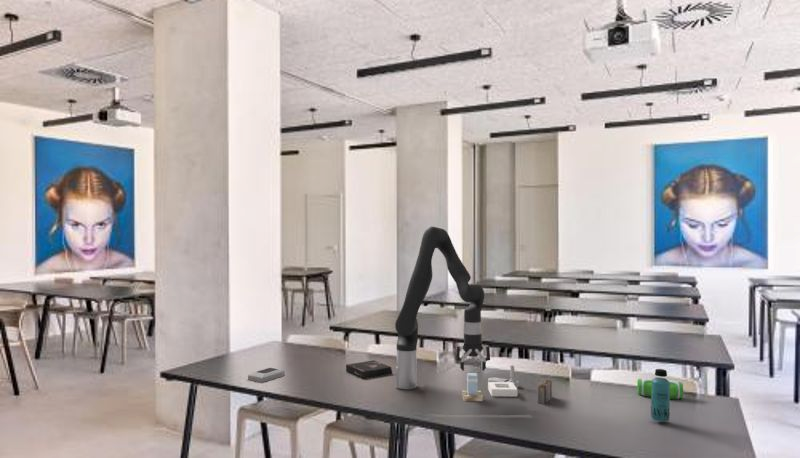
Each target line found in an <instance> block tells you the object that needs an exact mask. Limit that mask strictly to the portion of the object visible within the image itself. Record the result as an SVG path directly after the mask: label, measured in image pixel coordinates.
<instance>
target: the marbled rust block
mask: <svg viewBox="0 0 800 458" xmlns="http://www.w3.org/2000/svg"><path fill="white" fill-rule="evenodd" d="M552 385H553V381H552V380H550V379H545V380H544V381H542V382H541V383H539V384H538V387H537V403H538V404H539V405H545V404H546V403H547V402H548V401H550V400H551V398H552V397H553V395H552V393H553V390H552V389H553V386H552Z"/></svg>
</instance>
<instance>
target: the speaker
mask: <svg viewBox="0 0 800 458" xmlns="http://www.w3.org/2000/svg"><path fill="white" fill-rule="evenodd" d="M653 379H654V378H648V377H647V378H645V377H643V378H642V377H640V378H637V394H638V395H640V396H645V397H649V398H650V397H652V380H653ZM667 380H668V381H669V382H670V399H677V400H678V399H683V397H684V384H683V382H681V381H678V380H673V379H672V380H671V379H670V380H669V379H667Z"/></svg>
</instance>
